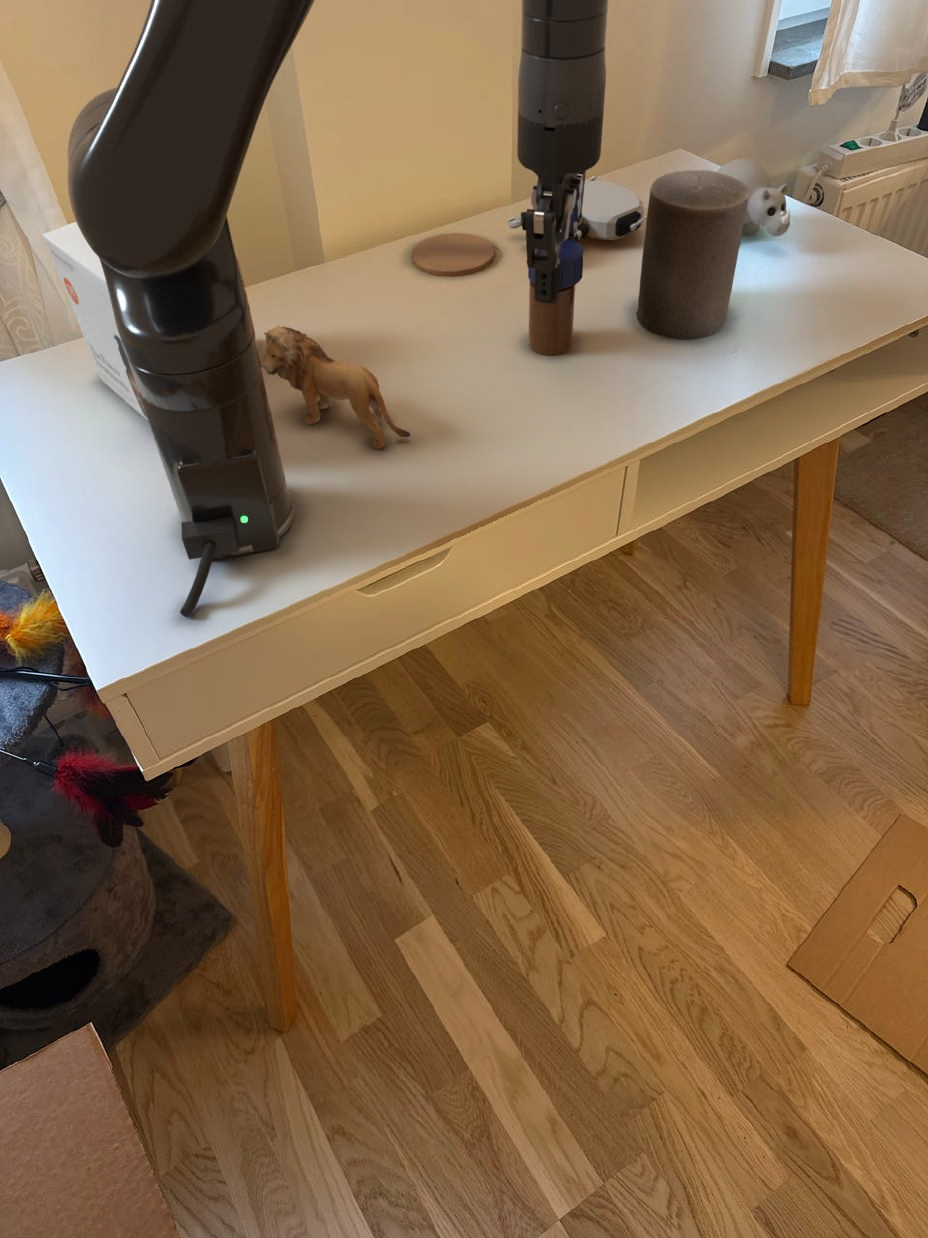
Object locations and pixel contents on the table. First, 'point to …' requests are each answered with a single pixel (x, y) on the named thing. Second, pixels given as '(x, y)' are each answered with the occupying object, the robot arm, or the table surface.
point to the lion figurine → (325, 379)
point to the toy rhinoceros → (760, 198)
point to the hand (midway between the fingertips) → (553, 286)
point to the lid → (567, 265)
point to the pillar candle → (690, 252)
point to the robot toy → (603, 212)
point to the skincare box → (93, 309)
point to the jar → (551, 322)
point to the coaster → (452, 254)
